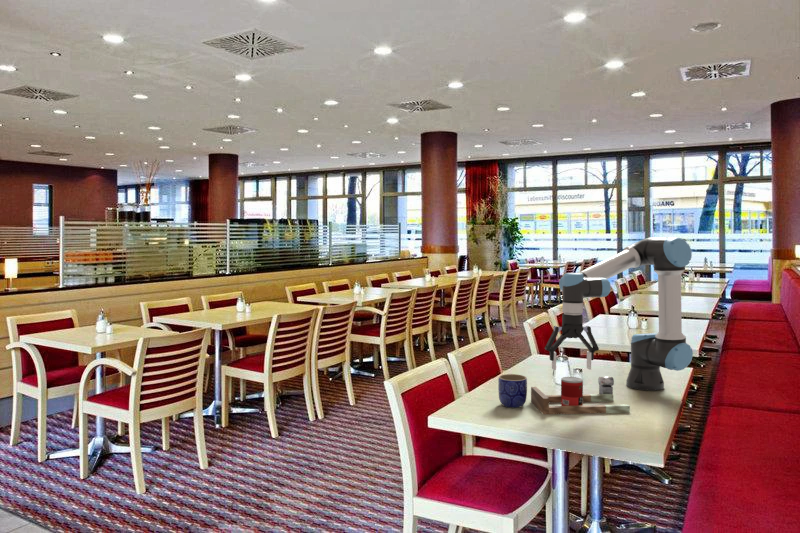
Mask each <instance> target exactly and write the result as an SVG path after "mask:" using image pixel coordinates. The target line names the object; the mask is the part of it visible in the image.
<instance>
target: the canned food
mask: <svg viewBox="0 0 800 533" xmlns="http://www.w3.org/2000/svg"><path fill="white" fill-rule="evenodd" d="M583 391H584V380H583V378H581V377H577V376H563V377H561V379H560V395H561V403H560V406H579V405H583V404H584V402H583V394H584V392H583Z"/></svg>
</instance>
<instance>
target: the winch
mask: <svg viewBox="0 0 800 533" xmlns="http://www.w3.org/2000/svg"><path fill="white" fill-rule="evenodd" d="M597 383H598V394H612V395H613V396H614V394H613V392H614V391H613V390H614V387H613V386H614V385H615V381H614V378H613V376H599V377H598V379H597Z"/></svg>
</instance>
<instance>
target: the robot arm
mask: <svg viewBox="0 0 800 533" xmlns="http://www.w3.org/2000/svg"><path fill="white" fill-rule="evenodd" d="M692 253H693V252H692V248H691V246H690V244H689V243H688V242H687V241H686V240H685V239H684V238H680V237H675V236H668V237H667V236H666V237H663V236H659V237H656V236H655V237H654V236H651V237H646V238H644V239H641V240H639V241H636V242H634V243H632V244H630V245H628V246H626V247H624V248H623V250H622V251H621V252H619V253H617V254H614V255H612V256H610V257H608V258H607V259H604V260H602V261H599V262H598V263H596V264H594V265H591V266H590V267H587V268H585V269H583V270H581V271H579V272H566V273H564V274H563V276H561V278H560V279H559V281H558V282H559V284H558V286H559V290H560V291H562V309H561V310H562V315H561V316H562V317H561V326H556V325H554V326H553V330H552V333H551V335H550V337H549V338H548V341H547V343H546V345H545V346H544V349H545V351H547V352H549V360H550V361H551V369H552V370H554V371H555V370H557V352H556V350H557V349H558V348H559V346H561V344H563V342H564V341H565V340H566V339H567V338H568V339H577V338H578V339H579V340H580V341H581V342H582V344H583V345H584V346H585V347H586V348H587V349H588V350H587V351H586V369H587V370H592V361H594V359H595V356H594V354H595V352H596V351H599V350H600V348H599V345H598V343H597V341H596V340H595V337H594V335H593V333H592V327H591V326H589V325H585V326H584V325H583V320H584V319H583V318H584V316H583V313H584V299H585V298H603V297H604V298H605V297H607V296H609V294H611V290H612V289H611V282H610V280H609V279H610V278H612V277H615V276H616V275H618V274H621V273H623V272H625V271H627V270H629V269H631V268H633V269H635V268H639V267H641V266H649V265H650V266H653V271H654V272H655V273H656V274H657V284H658V285H657V286H658V287H657V292H658V293H657V294H658V296H657V298H658V300H657V301H658V332H655V333H654V332H651V333H650V332H649V333H636V334H635V333H634V334H633V335H632V336H631V342H630V369H629V372H628V375H627V377H626V386H627V387H629V388H631V389H635V390H640V391H661V390H663V389H665V382H664V379H663V375H662V373H661V372H662V371H661V368H664V369H667V370H670V371H676V372H679V371H683V370H685V369H686V368H687V367H688V366H689V365H690V364H691V362H692V360H693V356H694V352H693V348H692V347H691V345H689V344H688V343H687V338H686V337H687V336H686V335H685V334H684V333H683V329H682V328H683V326H682V318H683V317H682V274H683V273H684V272H685V271H686V266H688V264H690V261H691V260H692V256H693V255H692ZM560 332H561V334H560V335H559V337H558V338H557V336H558V334H559V333H560ZM583 332H584V333H586V336H587V337H588V338H587V339H589V342H588V341H587V340H586V338H585V336H584V335H583V334H582V333H583ZM555 340H556V341H555ZM554 341H555V342H554Z"/></svg>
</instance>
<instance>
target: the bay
mask: <svg viewBox="0 0 800 533" xmlns="http://www.w3.org/2000/svg"><path fill="white" fill-rule="evenodd" d="M530 402H531V404H533V405H534V407H535V408H537V410H539V412H540V413H542V414H543V415H545V416H546V415H581V414H582V415H583V414H585V415H586V414H619V413H620V414H623V413H625V414H627V413H630V411H631V408H630V407H631V406H630V405H629V404H627V403H626V404H624V403H623V404H622V403H621V404H588V405H579V406H561V405H551V406H550V404H551V403H553V404H557V403H560V404H561V394H545V393H544V392H543V391H542V390H540V389H539V388H538V387H537V386H531V387H530ZM593 402H594V403H596V402H600V403H601V402H614V394H613V395H612V394H599V393H590V394H589V393H588V394H584V393H583V403H593Z"/></svg>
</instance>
